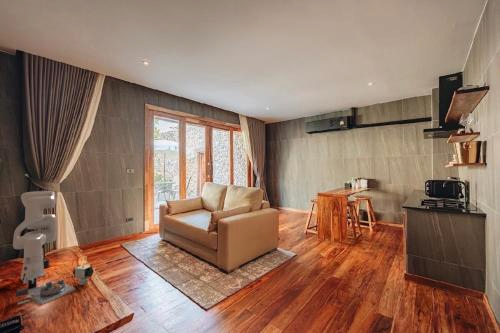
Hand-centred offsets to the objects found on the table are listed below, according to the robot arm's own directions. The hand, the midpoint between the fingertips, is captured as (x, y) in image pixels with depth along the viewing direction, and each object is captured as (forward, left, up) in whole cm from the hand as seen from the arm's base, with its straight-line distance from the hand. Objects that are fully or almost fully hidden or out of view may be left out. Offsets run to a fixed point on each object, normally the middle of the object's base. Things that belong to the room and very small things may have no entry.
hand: (32, 289), depth 128 cm
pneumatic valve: (+12, +21, -4) cm, 25 cm away
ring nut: (+5, +2, -2) cm, 6 cm away
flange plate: (+9, +3, -4) cm, 10 cm away
